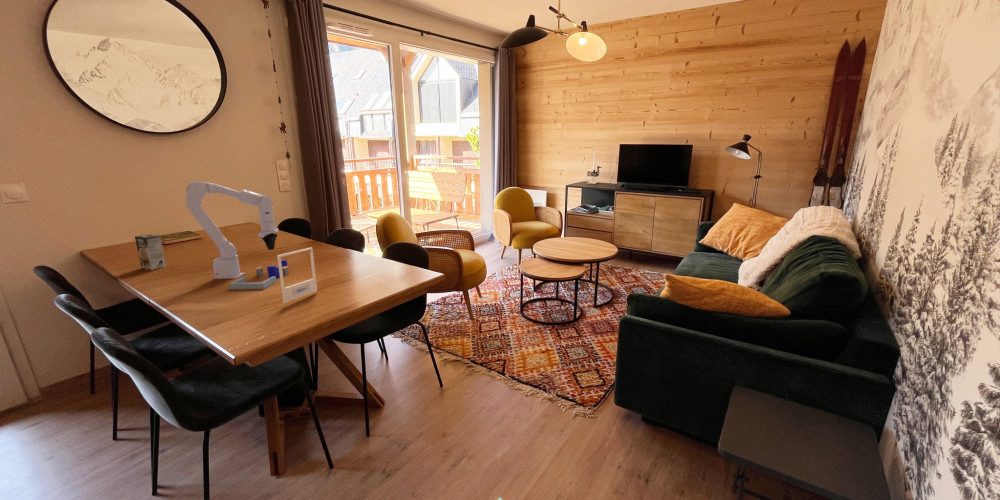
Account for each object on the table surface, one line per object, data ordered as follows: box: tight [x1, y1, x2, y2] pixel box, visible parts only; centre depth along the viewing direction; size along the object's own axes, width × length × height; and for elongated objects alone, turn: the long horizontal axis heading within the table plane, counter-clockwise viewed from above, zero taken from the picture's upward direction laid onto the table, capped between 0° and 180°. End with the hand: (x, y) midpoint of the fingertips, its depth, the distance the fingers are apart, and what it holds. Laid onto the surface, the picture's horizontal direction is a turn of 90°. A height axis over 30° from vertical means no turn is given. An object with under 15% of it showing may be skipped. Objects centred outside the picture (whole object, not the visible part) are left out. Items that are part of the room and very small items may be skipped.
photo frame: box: [276, 247, 318, 304], centre depth 153 cm, size 15×1×18 cm, turn 155°
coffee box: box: [134, 234, 167, 271], centre depth 195 cm, size 9×6×16 cm
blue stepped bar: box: [266, 259, 289, 280], centre depth 183 cm, size 12×4×6 cm, turn 3°
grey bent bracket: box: [228, 276, 277, 291], centre depth 169 cm, size 14×10×2 cm
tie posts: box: [255, 266, 290, 277], centre depth 184 cm, size 13×3×4 cm, turn 93°
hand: (271, 249), depth 191 cm, fingers closed
